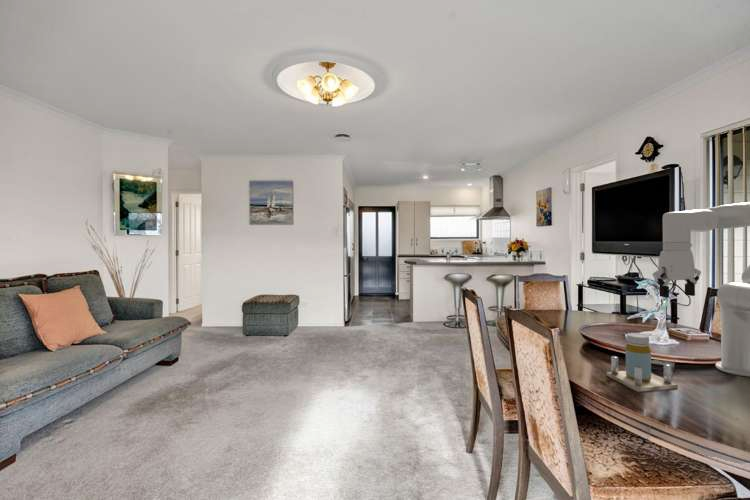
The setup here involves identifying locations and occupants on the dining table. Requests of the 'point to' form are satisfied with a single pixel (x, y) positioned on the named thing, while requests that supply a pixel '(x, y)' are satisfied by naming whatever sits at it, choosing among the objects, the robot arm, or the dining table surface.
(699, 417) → the dining table surface
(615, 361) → the holder pins
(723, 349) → the robot arm
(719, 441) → the dining table surface
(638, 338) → the bottle
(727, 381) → the dining table surface
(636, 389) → the holder base
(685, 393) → the dining table surface
